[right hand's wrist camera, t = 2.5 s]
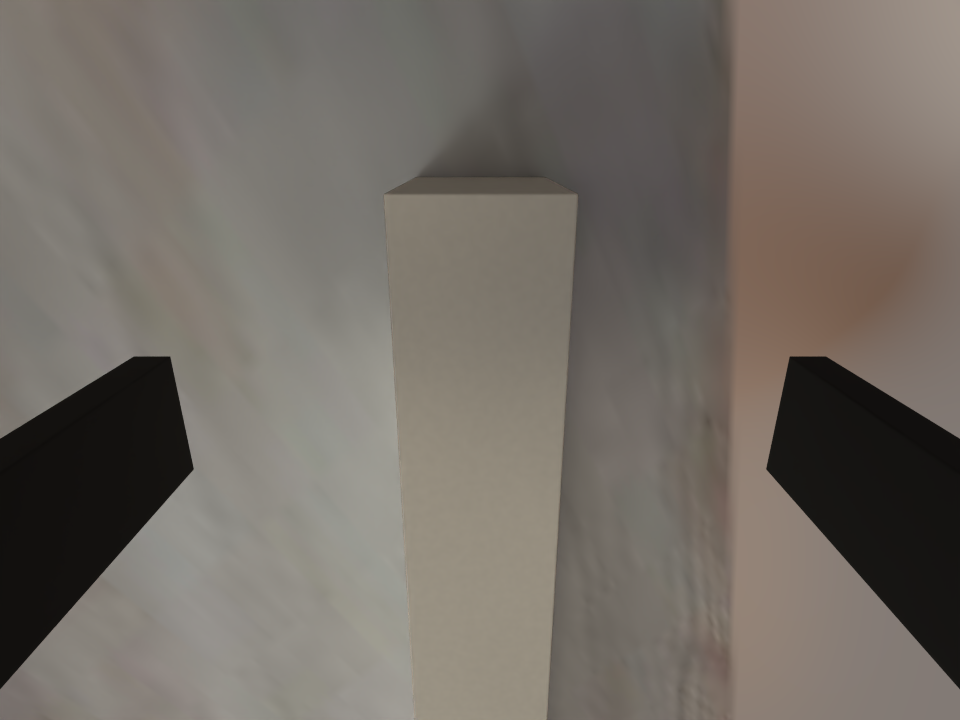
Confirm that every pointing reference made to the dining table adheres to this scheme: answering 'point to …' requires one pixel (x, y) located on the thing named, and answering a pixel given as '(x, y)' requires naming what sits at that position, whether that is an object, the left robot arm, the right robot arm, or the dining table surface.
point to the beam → (480, 432)
